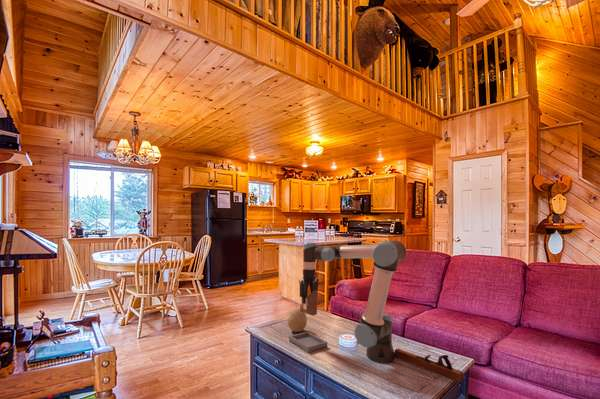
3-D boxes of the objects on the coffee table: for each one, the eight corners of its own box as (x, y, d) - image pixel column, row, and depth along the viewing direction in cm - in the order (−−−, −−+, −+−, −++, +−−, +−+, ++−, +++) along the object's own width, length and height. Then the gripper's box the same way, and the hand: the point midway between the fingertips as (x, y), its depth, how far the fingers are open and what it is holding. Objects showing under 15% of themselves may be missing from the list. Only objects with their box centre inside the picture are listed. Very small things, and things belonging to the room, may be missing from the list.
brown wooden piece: (312, 316, 179) (313, 284, 180) (299, 311, 187) (300, 281, 188) (317, 314, 182) (317, 283, 182) (304, 310, 189) (304, 280, 190)
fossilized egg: (283, 330, 203) (283, 307, 204) (297, 326, 212) (298, 304, 213) (296, 336, 194) (296, 312, 195) (310, 332, 203) (311, 308, 203)
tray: (327, 347, 179) (327, 342, 180) (307, 353, 171) (307, 347, 172) (307, 336, 195) (307, 331, 195) (288, 341, 187) (289, 336, 187)
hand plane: (464, 379, 147) (464, 358, 148) (460, 383, 144) (460, 361, 144) (397, 355, 172) (397, 336, 172) (392, 358, 168) (393, 339, 168)
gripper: (316, 266, 193) (315, 304, 192) (293, 268, 184) (292, 309, 182) (324, 268, 187) (323, 307, 186) (301, 270, 177) (300, 312, 176)
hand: (308, 308), depth 184 cm, fingers closed on brown wooden piece, 4 cm apart
